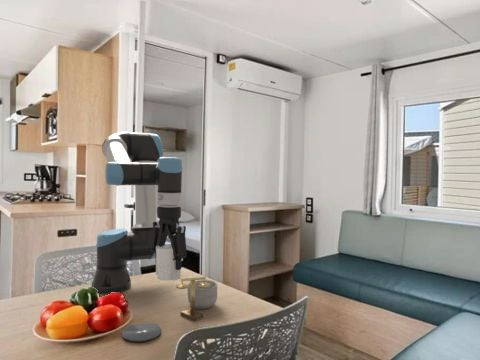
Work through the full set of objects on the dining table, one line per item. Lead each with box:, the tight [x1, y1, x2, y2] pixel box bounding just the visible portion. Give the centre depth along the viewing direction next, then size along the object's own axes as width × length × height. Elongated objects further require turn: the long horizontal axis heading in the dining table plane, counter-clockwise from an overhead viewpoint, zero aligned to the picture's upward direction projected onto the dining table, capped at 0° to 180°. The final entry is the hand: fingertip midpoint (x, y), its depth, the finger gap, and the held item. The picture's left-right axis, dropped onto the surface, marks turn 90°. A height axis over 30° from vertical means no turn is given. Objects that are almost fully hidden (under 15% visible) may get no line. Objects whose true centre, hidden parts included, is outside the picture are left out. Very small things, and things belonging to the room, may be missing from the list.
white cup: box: [155, 243, 174, 281], centre depth 116 cm, size 8×8×10 cm
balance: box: [175, 275, 210, 322], centre depth 120 cm, size 15×4×14 cm, turn 50°
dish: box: [121, 322, 162, 343], centre depth 107 cm, size 11×11×1 cm
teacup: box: [186, 278, 218, 310], centre depth 131 cm, size 14×11×8 cm
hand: (167, 276), depth 116 cm, fingers closed on white cup, 7 cm apart
